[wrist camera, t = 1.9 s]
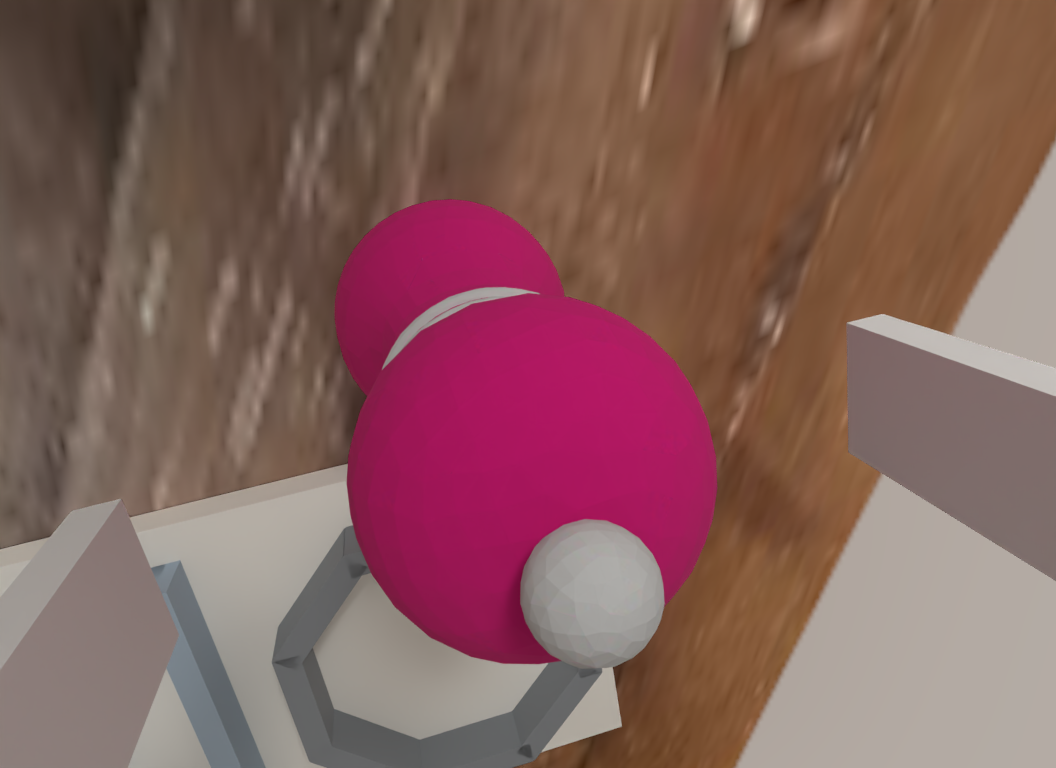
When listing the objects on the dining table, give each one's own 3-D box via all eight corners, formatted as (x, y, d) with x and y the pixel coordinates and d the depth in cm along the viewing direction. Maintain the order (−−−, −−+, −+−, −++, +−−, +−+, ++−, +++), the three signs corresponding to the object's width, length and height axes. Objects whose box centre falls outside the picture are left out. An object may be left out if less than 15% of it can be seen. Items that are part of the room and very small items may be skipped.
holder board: (-66, 565, 26) (-129, 627, 22) (563, 410, 29) (588, 443, 26) (102, 863, 31) (72, 946, 28) (611, 703, 35) (637, 760, 31)
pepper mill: (505, 167, 25) (881, 233, 7) (551, 349, 28) (913, 748, 10) (309, 222, 25) (146, 466, 6) (376, 405, 27) (404, 960, 9)
